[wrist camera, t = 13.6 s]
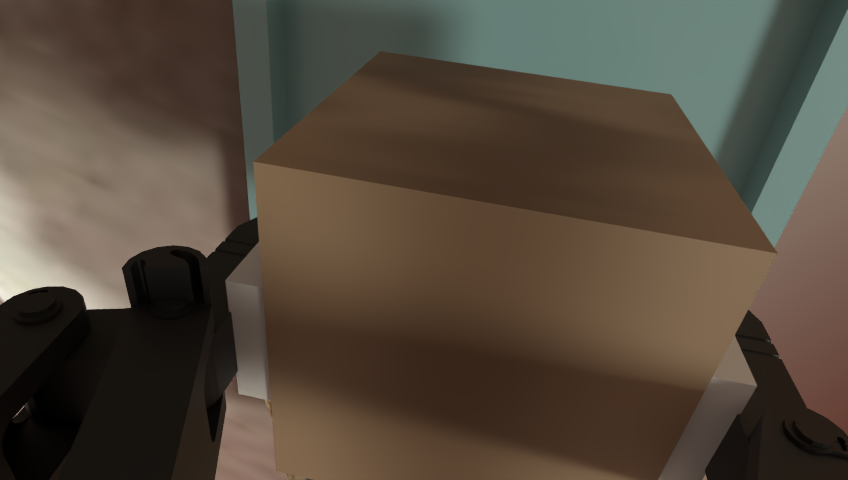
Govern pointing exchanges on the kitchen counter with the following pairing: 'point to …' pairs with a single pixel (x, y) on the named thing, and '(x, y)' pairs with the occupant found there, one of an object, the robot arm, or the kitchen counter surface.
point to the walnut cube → (494, 276)
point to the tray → (581, 68)
